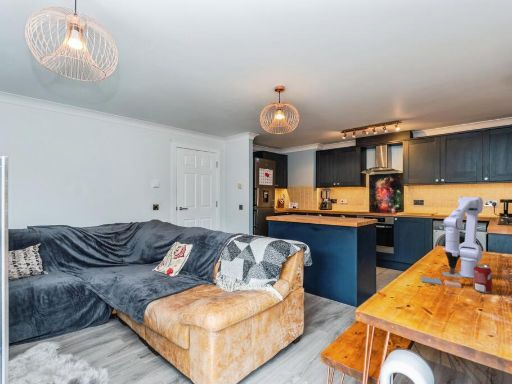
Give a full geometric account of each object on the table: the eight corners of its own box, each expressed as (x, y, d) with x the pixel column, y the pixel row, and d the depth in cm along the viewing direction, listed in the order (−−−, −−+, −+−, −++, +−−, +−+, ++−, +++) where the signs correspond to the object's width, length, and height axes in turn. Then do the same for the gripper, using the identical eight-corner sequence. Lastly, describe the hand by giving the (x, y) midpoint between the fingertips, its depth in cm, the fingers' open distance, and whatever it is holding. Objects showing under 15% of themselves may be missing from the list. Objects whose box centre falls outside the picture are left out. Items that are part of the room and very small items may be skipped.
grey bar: (442, 273, 142) (442, 260, 142) (461, 276, 138) (461, 262, 138) (443, 275, 139) (443, 261, 139) (462, 278, 135) (462, 264, 135)
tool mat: (420, 277, 149) (420, 276, 149) (440, 279, 145) (440, 278, 145) (421, 282, 141) (421, 281, 141) (442, 285, 137) (442, 284, 137)
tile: (444, 279, 141) (446, 283, 135) (458, 281, 138) (461, 285, 133) (444, 283, 141) (446, 287, 135) (458, 285, 138) (461, 289, 133)
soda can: (484, 294, 125) (485, 268, 124) (469, 289, 131) (469, 264, 131) (495, 293, 126) (495, 267, 126) (480, 288, 133) (480, 263, 133)
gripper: (440, 237, 147) (440, 262, 147) (445, 242, 134) (445, 270, 134) (456, 238, 143) (456, 264, 144) (462, 243, 131) (462, 272, 131)
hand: (452, 267), depth 138 cm, fingers closed on grey bar, 2 cm apart
